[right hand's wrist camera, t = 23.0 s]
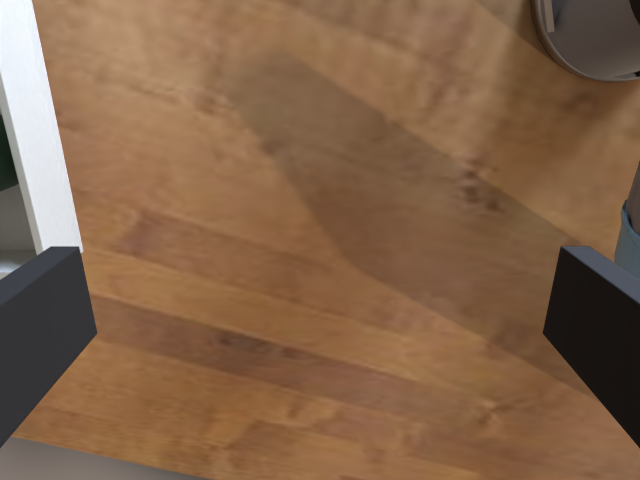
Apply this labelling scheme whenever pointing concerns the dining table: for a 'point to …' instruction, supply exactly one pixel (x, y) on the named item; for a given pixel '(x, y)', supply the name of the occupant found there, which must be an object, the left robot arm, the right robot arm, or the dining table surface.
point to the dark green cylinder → (6, 161)
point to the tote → (30, 147)
